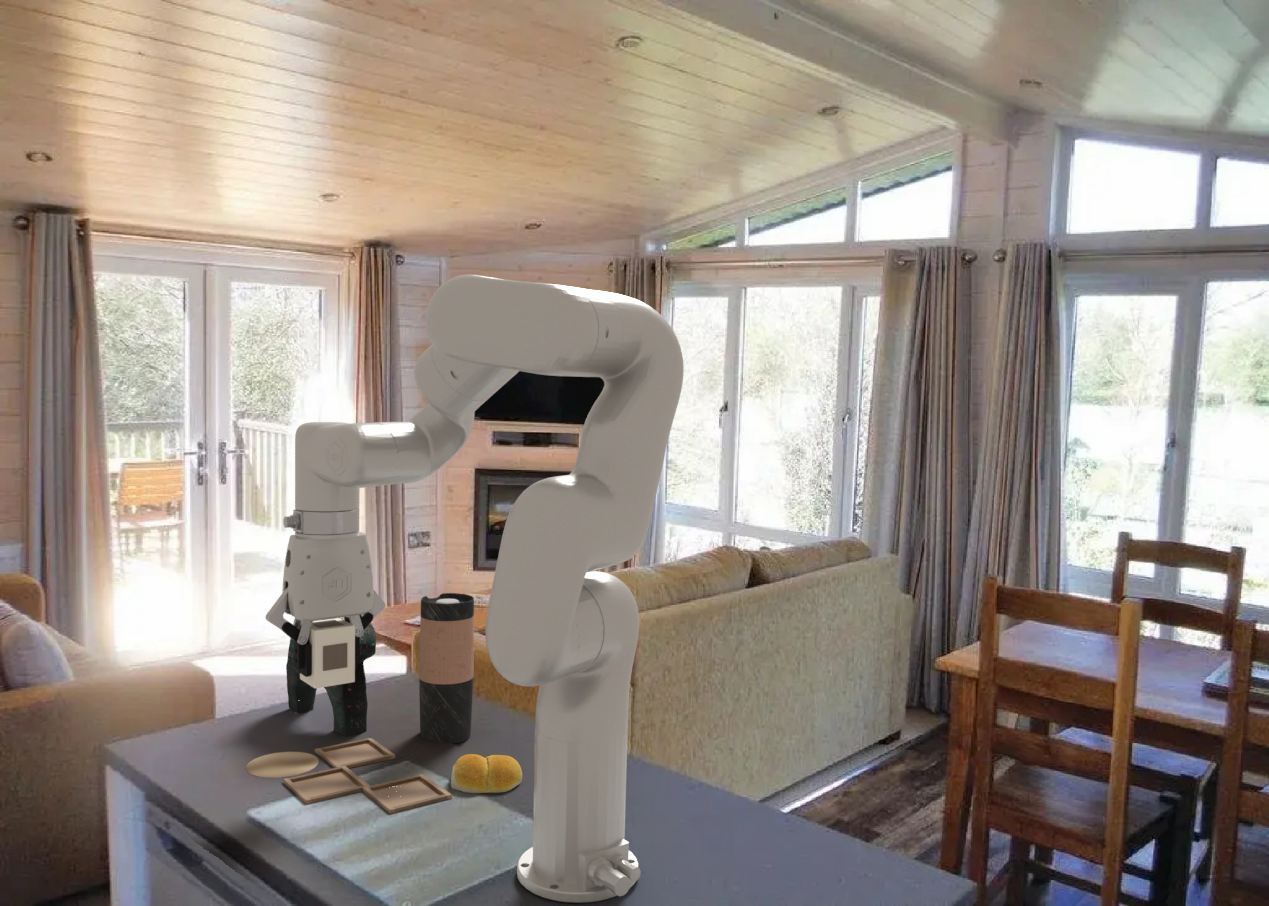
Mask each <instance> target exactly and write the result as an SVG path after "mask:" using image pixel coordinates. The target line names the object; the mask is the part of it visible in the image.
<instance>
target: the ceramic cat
mask: <svg viewBox="0 0 1269 906" xmlns="http://www.w3.org/2000/svg"><path fill="white" fill-rule="evenodd" d="M332 619H335V618H332ZM340 619H342V620H343V617H340ZM324 620H327V619H324ZM316 621H319V620H316ZM374 627H375V626H374V625H373V623H372V622H371V623H370V624H369V625H368V626H367V627H366V629H365V630H364V633H363V635H362V636H360V658H359V660H357V668H356V669H355V682H352V683H346V684H340V685H334V686H328V687H323V688H324V689H325V691H326V693H327V696H328V699H329V702H330V704H331V708H332V712H333V732H335V733H337V734H340V735H342V736H344V737H348V736H352V735H356V734H361V733H364V732H367V729H368V727H367V722H368V720H367V719H368V718H367V717H368V716H367V715H368V706H369V704H368V703H369V702H368V695H367V678H366V673H365V666H364V662H365V661H366V660H368V659H369V658H371V657H373V656H374V655H375V654H376V653H377V651H376V650H377V649H376V647H377V636H376V630H375V628H374ZM289 638H290V637H289ZM285 667H286V688H287V690H286V691H287V698H288V700H287V701H288V702H287V704H288V709H289V710H291V711H292V712H293V713H295V712H296V713H295V714H302V713H305V711H308V712H310V711H309V710H311V711H313V710H314V706H315V701H316V695H317V690H318V688H316V689H315V688H313V687H312V686H310V685H309V684H307V683H305V682H304V681H302V680H301V679H300V673H299V672H298V669H296V668H295V666H294V640H292V639H291V638H290V639H289V645H288V652H287V661H286V666H285ZM298 700H300V701H298ZM312 709H313V710H312ZM301 712H302V713H301Z"/></svg>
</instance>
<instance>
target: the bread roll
mask: <svg viewBox="0 0 1269 906" xmlns="http://www.w3.org/2000/svg"><path fill="white" fill-rule="evenodd" d="M450 777H451V778H450V787H451V788H452V789H453V790H455V791H460V792H463V793H468V794H469V793H470V794H483V793H485V794H486V793H488V794H490V793H499V794H500V793H507V792H509V791H512V789H515V787H517V786H519V785H521V783H522V781H523V771H522V767H521V765H520V763H519V762H518V761H517V760H516V759H515V758H513V757H512V756H510V755H504V754H503V755H502V754H492V755H488V756H486V757H484V756H482V755H480V754H476V753H475V754H474V753H470V754H469V753H467V754H465V755H464V754H463V755H461V756H459V758H458V759H456V761H455V763H454V765H452V772H451V776H450Z"/></svg>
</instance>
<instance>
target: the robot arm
mask: <svg viewBox="0 0 1269 906" xmlns="http://www.w3.org/2000/svg"><path fill="white" fill-rule="evenodd" d="M425 330H426V333H427V336H428V339H429V340H430V343H431V345H430V346H429V347H427V349H425V350H424V351H423V353H421V354H420V355H419V356H418V358H417V359H416V361H415V364H414V367H413V375H414V377H413V378H414V381H415V384H416V386H417V389H418V391H419V393H420V394H421V396H422V397H423V398H424V399H425V400H426V402H427V403H426V405H425V406H424V407H423V408H422V409H420V410H419V411H418V412H417V413H416V414H415V415H414V416H413V417H411V418H410V419H409V420H407V421H379V422H378V421H375V422H353V423H347V422H339V421H338V422H337V421H336V422H335V421H317V422H316V421H312V422H305V423H302V424H300V425H299V426H298V427H297V428H296V431H295V434H294V509H293V511H292V512H293V513H292V514H291V515H290V516H289V515H288V516H284V517H283V520H282V522H283V527H284V528H286V529H287V528H290V529H292V530H293V531H294V534H291V535H290V536H289V538H288V543H287V549H286V553H285V559H284V567H283V578H282V589H281V590H282V592H281V594H280V596H279V597H278V598H277V599H276V601H275V603H274V604H273V605H272V606H271V608H270V609H269V611H268V612H267V613H266V615H265V620H266V621H267V622H269V623H270V624H271V625H273V626H275V628H278V629H279V630H281V631H282V632H283V633H284V634H285V635H286V636H288V637H289V638H291V639H292V640H294V666H295V668H296V669H298V672H299V673H301V674H302V675H304V676H305V677H308V676H311V674H312V646H311V644H310V643H309V638H308V637H309V634H310V630H311V626H312V623H313V621H316V620H324V619H332V618H343V620H344V621H346V622H349V623H351V624H353V625H355V669H356V668H357V660H359V658H360V636H362V635H363V633H364V630H365V629H366V627H367V626H368V625H369V624H370V623H372V621H373V620H374V618H375V617H377V615H379V614H380V613H381V612H382V611H383V610H384V609H385V608H386V603H385V601H384V600H383V599H382V598H381V597H380V595H379V594H378V593H377V592H376V590H375V589H374V577H373V576H374V575H373V568H372V567H373V566H372V558H371V551H370V546H369V540H368V537H367V536H368V535H367V533H365V532H361V531H360V489H362V488H372V487H373V488H374V487H381V486H391V485H400V484H401V485H403V484H413V483H416V482H419V481H422V480H425V479H426V478H428V477H430V476H431V475H432V474H434V473H435V472H437V471H438V470H439V469H441V467H443V466H444V465H445V464H446V463H448V462H449V461H450V460H452V458H453V457H454V456H456V455H457V454H458V452H460V451H461V450H462V448H464V445H466V443H467V441H468V439H469V437H470V434H471V431H472V429H473V426H474V422H475V413H476V411H477V410H478V409H480V407H481V406H482V405H483V404H485V402H487V401H488V400H489V399H490V398H491V397H492V396H493V395H494V394H496V393H497V392H498V391H499V390H500V389H501V388H503V386H504V385H506V384H507V383H508V382H509V381H510V380H511V379H513V377H515V376H516V375H517V374H518V373H519V372H524V373H528V374H529V373H530V374H535V375H541V376H542V375H543V376H555V377H574V378H575V377H579V378H580V377H582V378H600V379H602V381H603V383H604V384H603V385H604V386H603V388H602V391H601V392H600V394H599V396H598V397H597V399H596V400H595V401H594V403H593V405H592V406H591V408H590V411H589V412H588V414H587V417H586V418H585V421H584V424H583V428H582V429H581V430H582V431H581V436H580V437H581V438H580V443H579V447H578V451H577V455H576V459H575V462H574V466H573V468H572V470H571V472H570V473H569V474H565V475H564V474H563V475H557V476H551V477H547V478H544V479H540V480H538V481H536V482H534V483H532V484H531V485H529V486H528V487H527V488H526V489H524V490H523V491H522V493H521V494H519V496H518V497H517V499H516V500H515V502H514V503H513V505H512V507H511V508H510V511H509V513H508V515H507V517H506V521H505V525H504V529H503V531H502V532H503V533H502V536H501V541H500V546H499V550H498V557H497V560H496V565H495V566H496V567H495V571H494V575H493V581H492V585H491V589H490V590H491V591H490V596H489V601H488V606H487V611H486V617H485V627H484V628H485V631H484V632H485V634H484V637H485V644H486V645H485V646H486V649H487V653H488V656H489V659H490V661H491V664H492V665H493V667H494V668H495V670H496V671H497V673H498V674H499V675H500V676H501V677H503V678H504V679H505V680H506V681H508V682H509V683H512V684H514V685H517V686H522V687H536V686H539V687H538V692H537V699H536V705H535V725H534V727H535V729H534V764H533V766H534V767H533V768H534V769H533V773H534V774H533V775H534V776H533V821H532V822H533V824H532V825H533V826H532V846H531V847H530V848H528V849H527V850H525V851H524V852H523V854H521V856H520V857H519V859H518V861H517V866H516V873H517V879H518V881H519V883H520V884H521V885H522V886H523V888H525V889H526V890H528V891H529V892H531V893H532V894H534V895H536V896H539V897H542V898H544V899H548V900H551V901H557V902H564V903H574V904H575V903H576V904H577V903H578V904H579V903H580V904H581V903H594V902H600V901H601V902H602V901H604V900H608V899H612V898H614V897H617V896H618V897H622V896H625V895H626V894H628V892H629V890H630V889H631V888H632V887H633V886H634V885H635V883H636V882H637V881H638V880H639V879H640V877H641V875H642V871H641V869H640V868H639V867H640V866H639V865H640V864H639V861H638V859H637V857H636V855H635V854H634V853H633V852H632V851H630V842H629V840H626V839H625V836H626V835H625V834H626V802H627V801H626V800H627V799H626V798H627V795H626V794H627V764H628V762H627V761H628V760H627V759H628V729H629V708H630V707H629V703H630V690H631V689H630V687H631V679H632V671H633V665H634V660H635V656H636V651H637V645H638V640H639V633H640V612H639V607H638V604H637V601H636V599H635V596H634V594H633V593H632V591H631V590H630V588H629V586H627V585H626V583H625V582H623V580H621V579H619V578H618V577H617V576H615V575H613V574H610V573H609V572H604V571H598V570H602V569H607V568H609V567H613V566H616V565H620V564H622V563H624V562H627V561H629V560H631V559H632V558H633V557H635V556H637V554H638V553H639V552H640V550H641V549H642V548H643V546H644V543H645V541H646V538H647V535H648V532H649V531H648V530H649V529H650V528H649V527H650V523H651V520H652V514H653V510H654V506H655V501H656V497H657V494H658V493H657V492H658V487H659V484H660V479H661V476H662V471H663V467H664V462H665V454H666V450H667V445H668V441H669V437H670V434H671V430H672V427H673V426H672V425H673V422H674V419H675V415H676V412H677V410H678V409H677V408H678V405H679V402H680V398H681V393H682V388H683V383H684V382H683V381H684V368H685V367H684V358H683V352H682V348H681V345H680V343H679V340H678V337H677V335H676V333H675V331H674V330H673V328H672V326H671V325H670V324H669V322H668V321H667V320H666V319H665V317H664V316H662V315H661V314H660V313H659V312H658V311H657V310H656V309H654V307H652V306H650V305H649V304H647V303H645V302H643V301H641V300H639V299H637V298H633V297H631V296H627V295H624V294H620V293H616V292H609V291H604V290H596V289H588V288H582V287H577V286H570V285H563V284H553V283H546V282H545V283H544V282H533V281H532V282H531V281H522V280H513V279H505V278H499V277H498V278H497V277H491V276H485V275H478V274H462V275H457V276H454V277H452V278H450V279H449V280H446V281H445V282H443V284H441V285H440V286H439V287H438V288H437V289H436V291H435V292H434V293H433V294H432V296H431V297H430V300H429V301H428V305H427V308H426V311H425ZM284 614H286V615H290V616H292V617H294V619H293V623H291V622H290V621H289V620H287V619H286V618H284Z"/></svg>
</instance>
